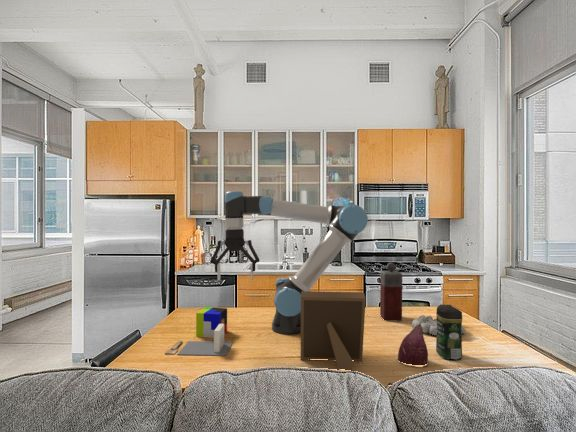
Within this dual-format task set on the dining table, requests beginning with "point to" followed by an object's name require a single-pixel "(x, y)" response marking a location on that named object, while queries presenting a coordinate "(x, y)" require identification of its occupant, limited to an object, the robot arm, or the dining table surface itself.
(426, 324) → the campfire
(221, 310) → the puzzle toy
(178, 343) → the wooden turner
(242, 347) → the dining table surface
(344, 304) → the photo frame
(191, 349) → the mat
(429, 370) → the dining table surface
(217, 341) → the tile
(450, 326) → the coffee jar
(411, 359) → the vegetable
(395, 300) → the dark red tall bottle
